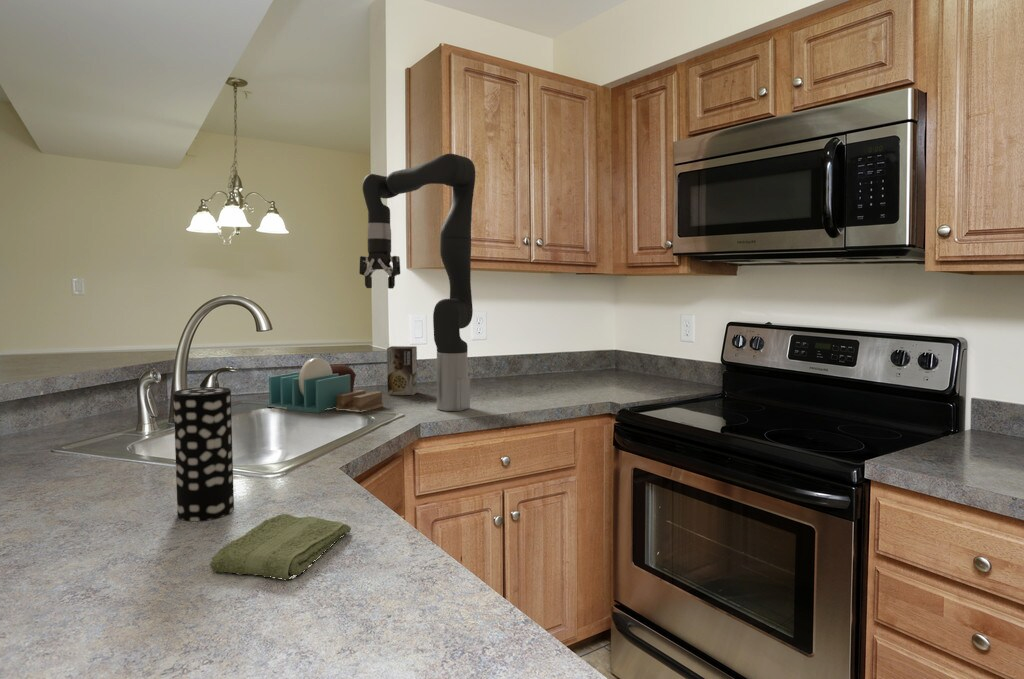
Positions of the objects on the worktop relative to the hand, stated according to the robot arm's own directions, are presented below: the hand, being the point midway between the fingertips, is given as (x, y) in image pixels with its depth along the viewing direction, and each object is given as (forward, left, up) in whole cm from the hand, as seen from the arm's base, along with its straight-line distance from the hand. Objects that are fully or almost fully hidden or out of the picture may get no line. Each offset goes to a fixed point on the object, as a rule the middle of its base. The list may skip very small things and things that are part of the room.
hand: (379, 288), depth 208 cm
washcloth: (-58, +108, -37) cm, 128 cm away
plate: (+9, +21, -28) cm, 36 cm away
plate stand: (-5, +18, -36) cm, 41 cm away
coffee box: (-2, -10, -36) cm, 38 cm away
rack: (+11, +21, -36) cm, 43 cm away
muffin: (+16, +1, -36) cm, 40 cm away
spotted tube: (-36, +101, -36) cm, 113 cm away
